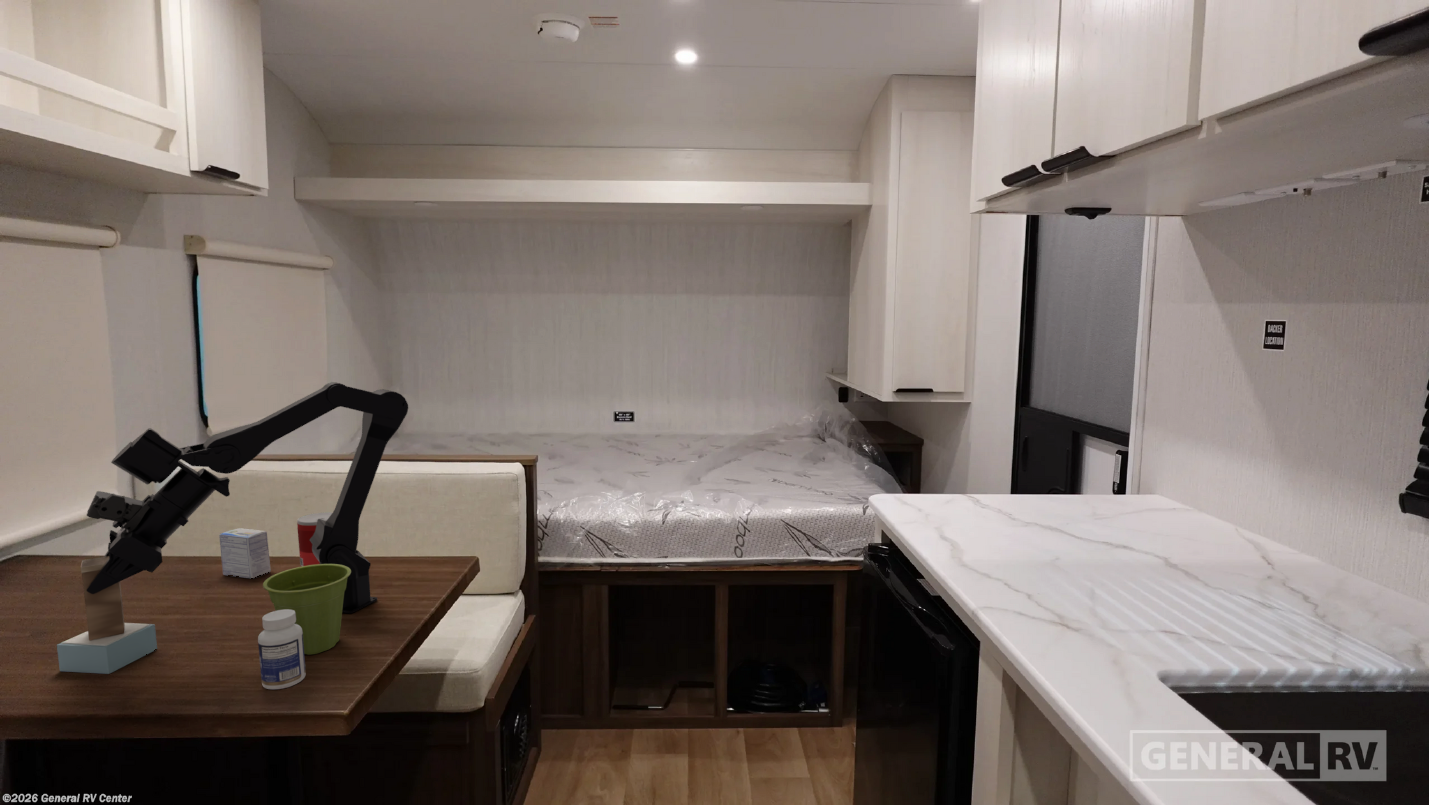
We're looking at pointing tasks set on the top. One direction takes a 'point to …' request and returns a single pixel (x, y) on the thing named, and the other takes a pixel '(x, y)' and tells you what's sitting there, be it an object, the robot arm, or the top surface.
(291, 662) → the pill bottle
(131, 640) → the stand
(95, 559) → the beige block
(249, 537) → the medicine box
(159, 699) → the top surface
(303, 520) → the canned food
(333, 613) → the plant pot
